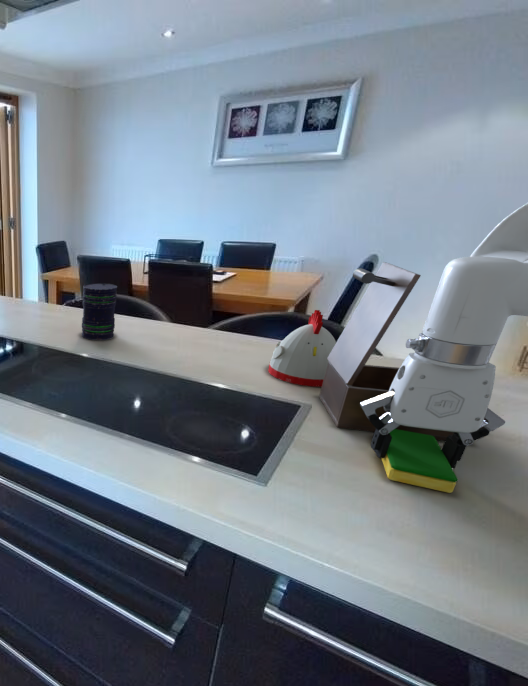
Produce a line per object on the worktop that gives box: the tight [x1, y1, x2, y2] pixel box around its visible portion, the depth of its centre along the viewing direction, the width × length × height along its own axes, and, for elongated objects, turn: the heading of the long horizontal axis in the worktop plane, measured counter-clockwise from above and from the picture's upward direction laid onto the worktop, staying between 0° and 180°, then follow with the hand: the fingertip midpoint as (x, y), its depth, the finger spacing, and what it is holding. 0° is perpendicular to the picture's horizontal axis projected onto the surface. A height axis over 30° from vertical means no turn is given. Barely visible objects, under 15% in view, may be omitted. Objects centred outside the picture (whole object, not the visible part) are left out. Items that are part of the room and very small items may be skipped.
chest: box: [318, 362, 453, 442], centre depth 80 cm, size 19×14×8 cm
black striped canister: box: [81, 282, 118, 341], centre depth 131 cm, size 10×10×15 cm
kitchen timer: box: [267, 309, 337, 388], centre depth 99 cm, size 14×14×15 cm
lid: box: [327, 261, 422, 386], centre depth 77 cm, size 19×14×6 cm
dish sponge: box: [381, 429, 459, 494], centre depth 67 cm, size 7×14×2 cm, turn 149°
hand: (411, 457), depth 68 cm, fingers closed on dish sponge, 7 cm apart
